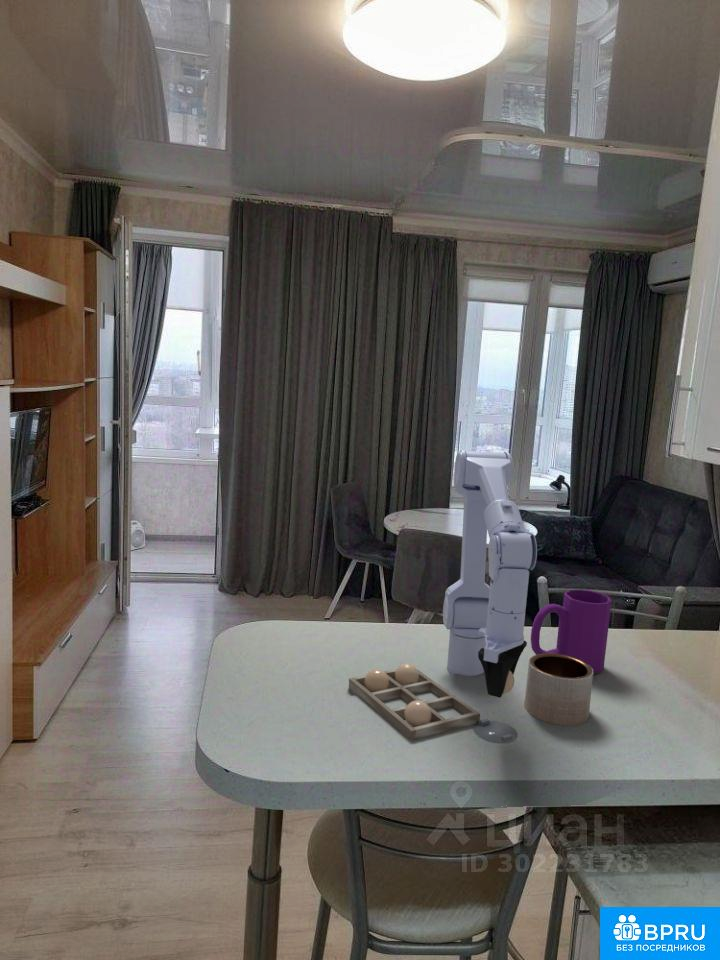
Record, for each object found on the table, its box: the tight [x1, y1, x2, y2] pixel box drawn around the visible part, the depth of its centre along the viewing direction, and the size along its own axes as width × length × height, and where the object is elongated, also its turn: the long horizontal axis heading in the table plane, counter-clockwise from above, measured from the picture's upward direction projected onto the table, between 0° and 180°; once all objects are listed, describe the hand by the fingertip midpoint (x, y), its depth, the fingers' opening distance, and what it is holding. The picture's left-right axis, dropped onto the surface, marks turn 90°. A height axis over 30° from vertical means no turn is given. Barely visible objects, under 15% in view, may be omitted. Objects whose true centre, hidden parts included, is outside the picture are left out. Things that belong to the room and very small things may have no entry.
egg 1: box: [364, 668, 389, 693], centre depth 123 cm, size 4×4×4 cm
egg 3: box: [404, 700, 431, 727], centre depth 112 cm, size 4×4×4 cm
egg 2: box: [395, 662, 419, 686], centre depth 127 cm, size 4×4×4 cm
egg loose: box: [502, 671, 515, 695], centre depth 111 cm, size 4×4×4 cm
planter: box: [523, 653, 594, 726], centre depth 120 cm, size 11×11×10 cm
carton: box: [348, 668, 481, 741], centre depth 120 cm, size 14×20×3 cm
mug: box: [530, 589, 612, 675], centre depth 142 cm, size 9×16×15 cm, turn 96°
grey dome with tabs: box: [473, 718, 519, 744], centre depth 112 cm, size 7×7×2 cm
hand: (499, 689), depth 111 cm, fingers closed on egg loose, 4 cm apart
